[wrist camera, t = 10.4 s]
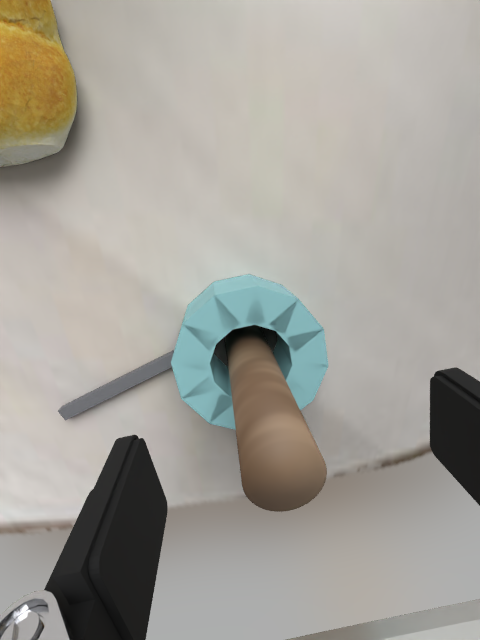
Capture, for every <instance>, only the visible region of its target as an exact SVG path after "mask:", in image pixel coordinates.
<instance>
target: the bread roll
mask: <svg viewBox="0 0 480 640" xmlns="http://www.w3.org/2000/svg"><path fill="white" fill-rule="evenodd" d="M76 109H77V89H76V81H75V76H74V72H73V69H72V67H71V64H70V62H69V60H68V58H67V55H66V54H65V52H64V49H63V46H62V43H61V40H60V38H59V34H58V29H57V22H56V18H55V15H54V11H53V8H52V4H51V1H50V0H0V167H4V166H11V165H19V164H25V163H29V162H31V161H34V160H39V159H41V158H44V157H46V156H50V155H52V154H55V153H57V152H59V151H60V150H61V149H62V148H63V147H64V144H65V142H66V139H67V136H68V133H69V130H70V128H71V126H72V123H73V121H74V118H75V114H76Z"/></svg>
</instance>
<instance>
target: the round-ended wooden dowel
mask: <svg viewBox="0 0 480 640" xmlns="http://www.w3.org/2000/svg"><path fill="white" fill-rule="evenodd" d="M225 343H226V351H227V360H228V368H229V377H230V385H231V394H232V402H233V411H234V420H235V428H236V437H237V445H238V454H239V462H240V471H241V479H242V486H243V490H244V493H245V494H246V496H247V497H248V499H249V500H250V501H251V502H252V503H254V504H255V505H256V506H258V507H260V508H263V509H265V510H270V511H289V510H293V509H296V508H299V507H301V506H303V505H305V504H307V503H308V502H310V501H311V500H312V499H314V498H315V497H316V496H317V494H318V493H319V492H320V491H321V489H322V487H323V486H324V483H325V480H326V475H327V469H326V464H325V462H324V459H323V457H322V455H321V453H320V451H319V449H318V447H317V445H316V442H315V440H314V438H313V436H312V434H311V432H310V430H309V428H308V426H307V424H306V422H305V420H304V417H303V415H302V413H301V411H300V409H299V407H298V405H297V403H296V401H295V399H294V397H293V394H292V392H291V390H290V388H289V386H288V384H287V382H286V380H285V378H284V376H283V374H282V371H281V369H280V367H279V365H278V363H277V361H276V359H275V357H274V355H273V353H272V351H271V348H270V346H269V344H268V342H267V340H266V338H265V336H264V334H263V332H262V330H261V328H260V327H259V326H258V325H251V326H246V327H242V328H237V329H233V330H232V331H231V332H229V333H228V334H227V335H226V337H225Z"/></svg>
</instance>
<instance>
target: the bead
mask: <svg viewBox="0 0 480 640" xmlns="http://www.w3.org/2000/svg"><path fill="white" fill-rule="evenodd" d="M251 325H258V326H261V327H264V328H268V329H271V330H274V331H276V333H277V339H278V341H277V343H276V346H275V348H274V351H273V355H274V357H275V359H276V361H277V363H278V365H279V367H280V369H281V371H282V374H283V376H284V378H285V380H286V382H287V384H288V386H289V388H290V390H291V392H292V394H293V397H294V399H295V401H296V403H297V405H298V407H299V409H300V410H301V409H303V408H304V407H305V406H306V405H308V404H309V403H310V402H311V401H313V400H314V397H315V395H316V393H317V390H318V388H319V386H320V384H321V381H322V379H323V377H324V375H325V372H326V370H327V368H328V359H327V351H326V343H325V335H324V329H323V327H322V326H321V325H320V324H319V323H318V322H317V320H316V319H315V318H314V317H313V316H312V314H311V313H310V312H309V311H308V310H307V309H306V307H305V306H304V305H303V304H302V303H301V301H300V300H299V299H298V298H297V297H296V296H294V295H293V294H292V293H291V292H290V291H289V290H287V289H286V288H285V287H284V286H283V285H281V284H277V283H274V282H271V281H268V280H265V279H262V278H259V277H256V276H253V275H250V274H247V275H243V276H238V277H233V278H229V279H224V280H220V281H215V282H213V283H212V284H211V285H210V286H209V287H208V288H207V289H205V290H204V291H203V292H202V293H201V294H200V295H199V296H198V297H197V298H195V299H194V300H193V301H192V302H191V303H190V304H189V305H188V307H187V310H186V313H185V317H184V320H183V323H182V327H181V330H180V333H179V337H178V340H177V344H176V347H175V350H174V354H173V357H172V360H171V365H172V368H173V372H174V375H175V378H176V382H177V385H178V389H179V392H180V395H181V399H182V400H183V401H185V402H186V403H187V404H188V405H189V406H190V407H191V408H192V409H194V410H195V411H196V412H197V413H198V414H199V415H200V416H201V417H203V418H204V419H205V420H206V421H207V422H208V423H209V424H213V425H218V426H222V427H226V428H230V429H235V430H236V428H235V420H234V411H233V402H232V394H231V385H230V377H229V368H228V366H226V365H225V364H224V363H223V362H222V361H221V360H220V359H219V358H218V357H217V356H216V355H215V354H214V349H215V346H216V344H217V343H218V342H219V341H220V340H221V339H222V338H224V337H225V336H226V335H227V334H228V333H229V332H231V331H232V330H233V329H237V328H242V327H246V326H251Z"/></svg>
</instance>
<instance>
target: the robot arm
mask: <svg viewBox="0 0 480 640" xmlns="http://www.w3.org/2000/svg"><path fill="white" fill-rule="evenodd" d="M430 447H431V450H432V452H433V454H434V455H435V456H436V458H437V459H438V460H439V461H440V462H441V463H442V464H443V465H444V466H445V468H446V469H447V470H448V471H449V472H450V473H451V474H452V475H453V476H454V478H455V479H456V480H457V481H458V482H459V483H460V484H461V485H462V486H463V488H464V489H465V490H466V491H467V492H468V493H469V494H470V495H471V496H472V497H473V499H474V500H476V502H477V503H478V504H479V505H480V382H479V381H478V380H476V379H475V378H473V377H471V376H470V375H468V374H467V373H465V372H464V371H462V370H460V369H458V368H450V369H445V370H441V371H437V372H436V373H435V374H434V377H432V378H431V380H430ZM166 517H167V500H166V497H165V495H164V492H163V489H162V486H161V484H160V481H159V478H158V476H157V473H156V470H155V467H154V465H153V462H152V459H151V457H150V454H149V451H148V449H147V446H146V443H145V441H144V439H143V438H140V439H139V438H138V436H137V435H132V436H127V437H122V438H118V439H117V440H116V441H115V443H114V445H113V448H112V450H111V452H110V454H109V456H108V459H107V461H106V463H105V465H104V467H103V470H102V472H101V474H100V476H99V478H98V480H97V483H96V485H95V487H94V489H93V490H92V491H91V492H90V493H89V495H88V497H87V499H86V501H85V503H84V506H83V508H82V510H81V512H80V514H79V516H78V518H77V521H76V523H75V525H74V527H73V529H72V531H71V533H70V536H69V538H68V540H67V542H66V544H65V546H64V549H63V551H62V553H61V555H60V557H59V560H58V561H57V564H56V566H55V568H54V570H53V572H52V574H51V577H50V579H49V581H48V583H47V585H46V587H45V589H44V590H42V591H34V592H32V593H30V594H27V595H25V596H23V597H22V598H20V599H19V600H17V601H16V602H14V603H13V604H12V605H11V606H10V607H8V608H7V609H6V610H5V611H4V612H3V613H2V614H1V615H0V640H145V639H146V633H147V627H148V621H149V615H150V610H151V604H152V598H153V592H154V587H155V581H156V575H157V569H158V563H159V557H160V551H161V546H162V540H163V534H164V528H165V523H166ZM287 640H480V599H478V600H473V601H468V602H463V603H458V604H453V605H449V606H443V607H439V608H434V609H429V610H424V611H419V612H415V613H410V614H405V615H400V616H395V617H391V618H386V619H381V620H377V621H372V622H367V623H363V624H357V625H353V626H348V627H343V628H339V629H334V630H329V631H324V632H320V633H315V634H310V635H305V636H301V637H296V638H292V639H287Z"/></svg>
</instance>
